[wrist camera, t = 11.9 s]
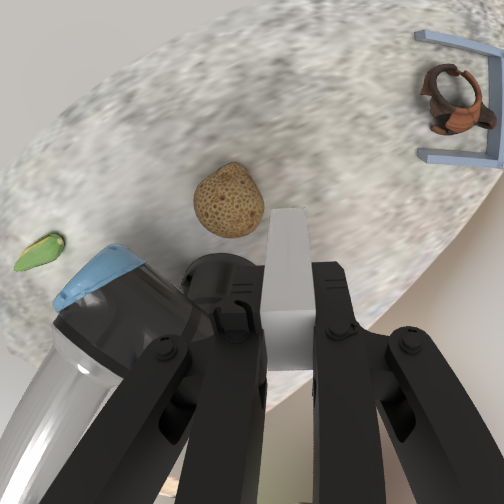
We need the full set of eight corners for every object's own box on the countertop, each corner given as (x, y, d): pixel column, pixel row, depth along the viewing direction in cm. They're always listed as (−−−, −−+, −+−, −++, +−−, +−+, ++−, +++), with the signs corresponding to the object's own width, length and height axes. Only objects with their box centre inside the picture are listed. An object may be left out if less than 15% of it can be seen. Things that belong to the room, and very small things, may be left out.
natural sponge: (219, 225, 47) (204, 262, 38) (192, 173, 43) (169, 201, 34) (275, 205, 44) (273, 240, 36) (250, 149, 40) (240, 171, 32)
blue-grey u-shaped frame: (490, 161, 36) (502, 168, 33) (417, 156, 38) (427, 163, 35) (493, 50, 26) (506, 51, 23) (414, 32, 28) (425, 29, 25)
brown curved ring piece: (410, 131, 36) (423, 109, 28) (414, 75, 35) (425, 47, 27) (483, 155, 33) (508, 140, 25) (484, 99, 32) (505, 77, 24)
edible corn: (64, 260, 49) (47, 244, 46) (18, 279, 55) (4, 267, 52) (73, 239, 52) (58, 224, 49) (26, 262, 58) (14, 250, 55)
